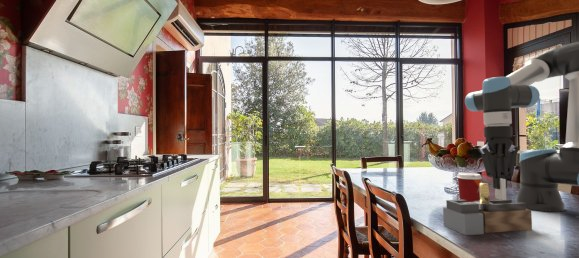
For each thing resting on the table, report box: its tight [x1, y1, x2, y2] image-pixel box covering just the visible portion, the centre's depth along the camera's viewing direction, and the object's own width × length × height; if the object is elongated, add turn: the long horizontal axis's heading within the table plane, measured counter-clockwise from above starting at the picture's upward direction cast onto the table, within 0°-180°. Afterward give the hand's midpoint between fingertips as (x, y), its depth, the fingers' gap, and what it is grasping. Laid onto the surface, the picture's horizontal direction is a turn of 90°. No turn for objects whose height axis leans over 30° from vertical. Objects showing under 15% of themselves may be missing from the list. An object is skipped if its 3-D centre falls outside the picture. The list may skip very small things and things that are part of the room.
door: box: [473, 198, 533, 234], centre depth 96 cm, size 16×8×8 cm, turn 98°
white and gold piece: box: [461, 182, 493, 210], centre depth 95 cm, size 9×3×8 cm, turn 98°
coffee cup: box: [456, 172, 483, 202], centre depth 112 cm, size 8×8×15 cm
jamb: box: [442, 199, 485, 236], centre depth 94 cm, size 6×10×9 cm, turn 8°
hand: (500, 198), depth 97 cm, fingers closed
